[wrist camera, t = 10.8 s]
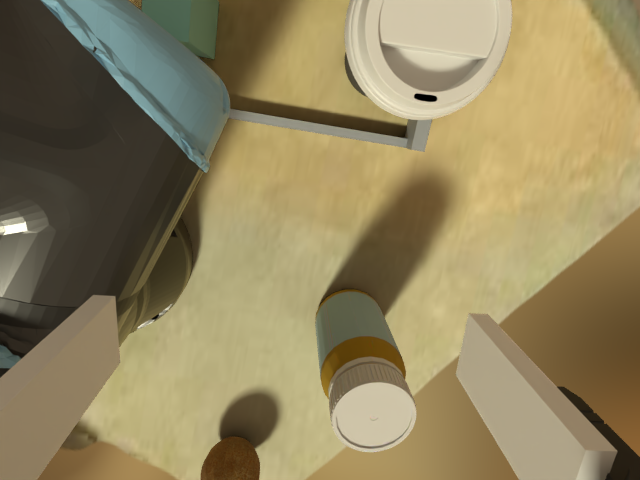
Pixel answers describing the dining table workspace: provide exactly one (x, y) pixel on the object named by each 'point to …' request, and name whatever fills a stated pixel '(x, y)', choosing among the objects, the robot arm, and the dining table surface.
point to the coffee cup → (425, 52)
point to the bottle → (362, 373)
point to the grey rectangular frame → (200, 38)
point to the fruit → (231, 461)
